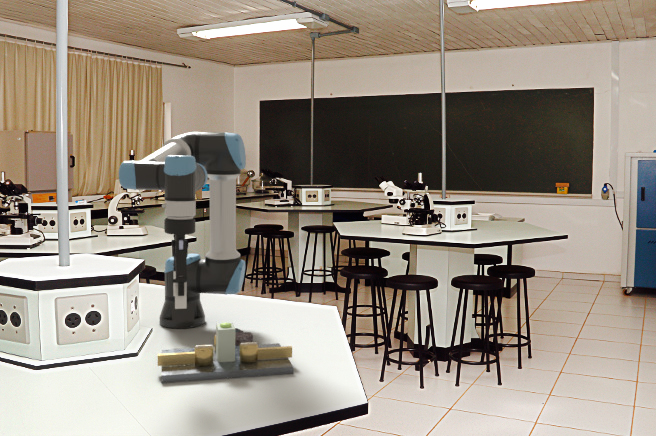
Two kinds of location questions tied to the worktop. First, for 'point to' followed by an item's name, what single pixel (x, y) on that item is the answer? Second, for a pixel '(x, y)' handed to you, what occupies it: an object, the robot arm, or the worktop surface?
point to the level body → (225, 342)
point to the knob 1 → (189, 357)
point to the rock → (242, 337)
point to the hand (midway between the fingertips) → (179, 301)
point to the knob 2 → (262, 352)
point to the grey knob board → (225, 367)
